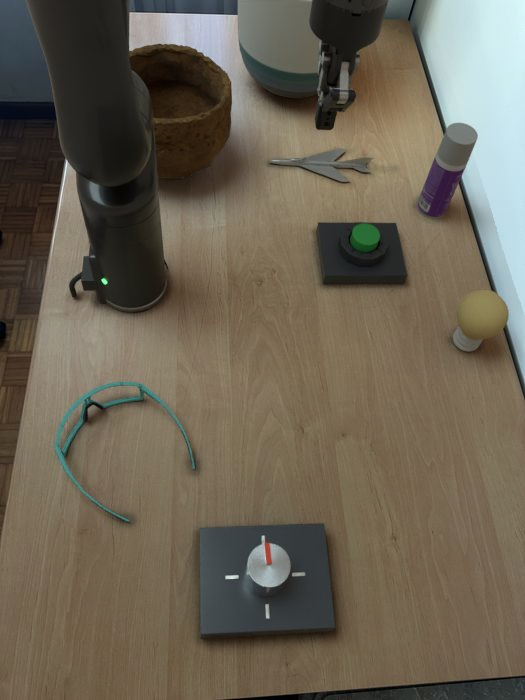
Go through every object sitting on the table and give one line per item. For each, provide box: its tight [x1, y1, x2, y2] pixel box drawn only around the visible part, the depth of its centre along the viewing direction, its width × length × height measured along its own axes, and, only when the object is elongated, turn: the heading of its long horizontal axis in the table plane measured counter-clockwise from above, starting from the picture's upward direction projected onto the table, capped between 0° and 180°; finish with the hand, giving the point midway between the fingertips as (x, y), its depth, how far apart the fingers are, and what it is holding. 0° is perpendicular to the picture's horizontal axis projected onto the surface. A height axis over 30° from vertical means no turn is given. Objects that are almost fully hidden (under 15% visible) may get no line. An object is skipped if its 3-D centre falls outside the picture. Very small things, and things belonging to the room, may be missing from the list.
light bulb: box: [452, 289, 510, 353], centre depth 88 cm, size 6×6×10 cm
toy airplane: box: [268, 147, 385, 183], centre depth 108 cm, size 8×21×2 cm, turn 90°
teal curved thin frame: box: [54, 381, 196, 523], centre depth 79 cm, size 14×15×5 cm
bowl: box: [129, 43, 233, 180], centre depth 100 cm, size 19×19×15 cm
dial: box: [245, 543, 291, 597], centre depth 69 cm, size 4×4×5 cm
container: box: [416, 122, 479, 220], centre depth 99 cm, size 5×5×15 cm
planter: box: [237, 0, 320, 99], centre depth 110 cm, size 20×20×21 cm
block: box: [315, 221, 408, 286], centre depth 97 cm, size 12×10×4 cm
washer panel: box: [199, 522, 336, 639], centre depth 73 cm, size 14×11×3 cm
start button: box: [350, 223, 380, 253], centre depth 95 cm, size 4×4×2 cm
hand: (323, 126), depth 80 cm, fingers closed
